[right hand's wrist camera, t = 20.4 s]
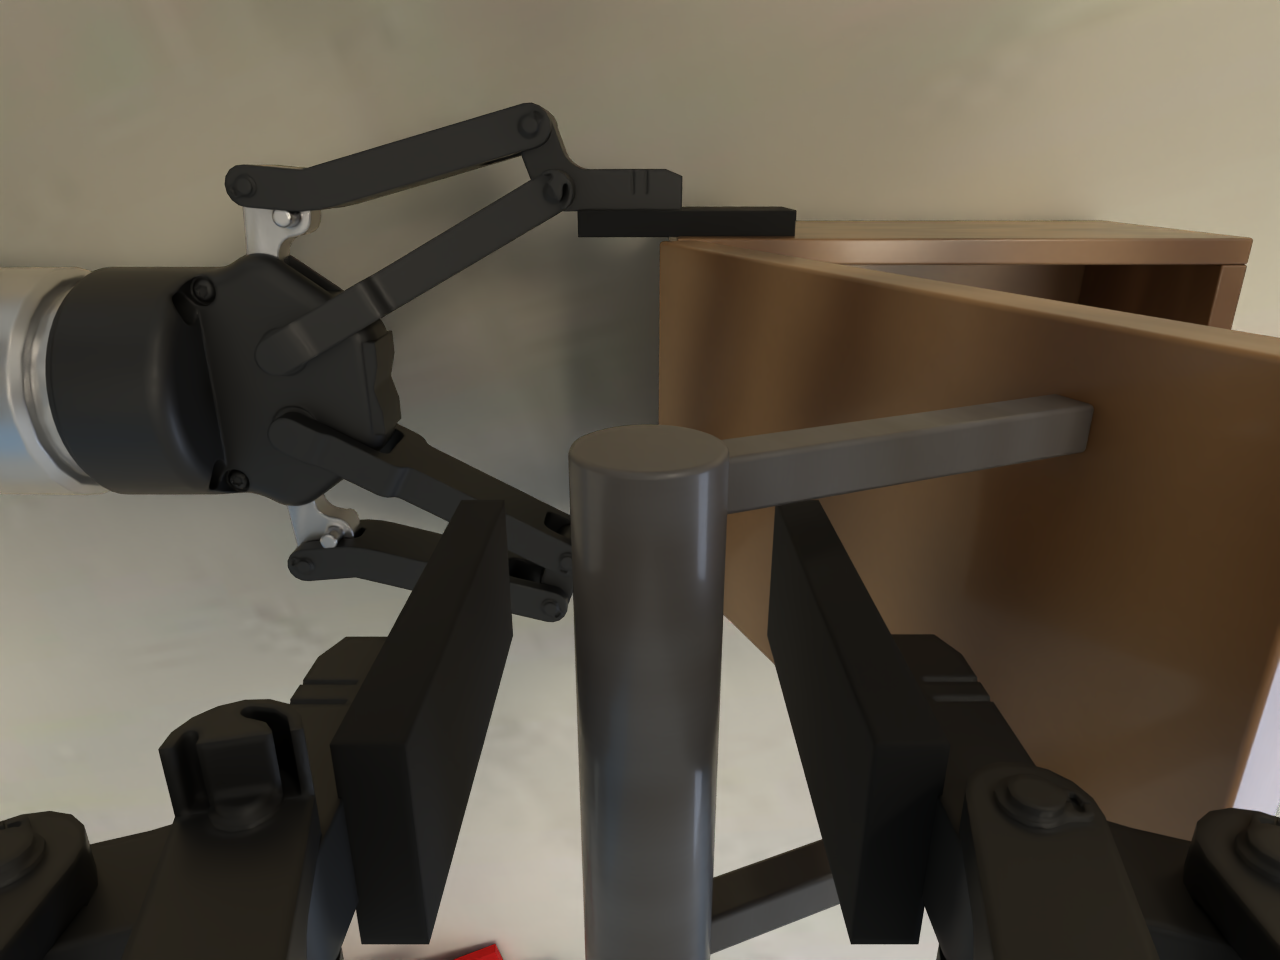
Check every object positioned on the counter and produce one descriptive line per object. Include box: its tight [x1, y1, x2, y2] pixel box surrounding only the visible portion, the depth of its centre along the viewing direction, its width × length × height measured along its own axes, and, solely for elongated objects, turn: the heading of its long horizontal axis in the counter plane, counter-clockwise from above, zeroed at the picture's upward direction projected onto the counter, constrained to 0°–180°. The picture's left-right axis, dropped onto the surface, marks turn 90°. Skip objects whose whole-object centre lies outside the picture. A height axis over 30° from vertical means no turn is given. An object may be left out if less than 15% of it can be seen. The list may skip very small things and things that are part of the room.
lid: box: [568, 240, 1280, 960], centre depth 16 cm, size 17×10×8 cm
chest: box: [669, 220, 1253, 330], centre depth 30 cm, size 17×10×9 cm, turn 90°
